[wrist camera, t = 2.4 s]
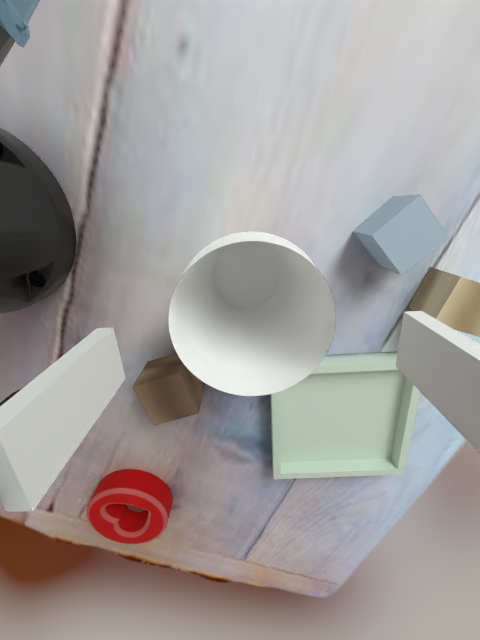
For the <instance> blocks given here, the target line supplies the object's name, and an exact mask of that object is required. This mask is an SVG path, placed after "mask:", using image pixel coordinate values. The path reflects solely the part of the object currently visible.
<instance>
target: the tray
mask: <svg viewBox="0 0 480 640" xmlns="http://www.w3.org/2000/svg"><path fill="white" fill-rule="evenodd" d="M397 354H398V352H383V353H364V354H344V355H325V357H324V358H323V360H322V361H321V363H320V364H319V365H318V366H317V367H316V369H315V370H314V371H313V372H312V373H310V374H309V375H308V376H307V377H306V378H304V379H303V380H302V381H300V382H299V383H297V384H295V385H293V386H291V387H290V388H287V389H285V390H282V391H279V392H276V393H272V394H270V410H271V444H272V468H273V477H274V479H295V478H321V477H347V476H373V475H399V474H404V470H405V465H406V460H407V455H408V450H409V445H410V440H411V435H412V430H413V426H414V421H415V416H416V411H417V406H418V401H419V396H420V391H419V390H418V389H417V388H416V387H415V386H414V385H413V384H412V383H411V381H410V380H409V379H408V378H407V377H406V376H405V375H404V374H403V373H402V372H401V371H400V370H399V369H398V368H397V367H396V360H397Z"/></svg>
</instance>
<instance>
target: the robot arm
mask: <svg viewBox="0 0 480 640" xmlns="http://www.w3.org/2000/svg"><path fill="white" fill-rule="evenodd" d="M39 1H40V0H0V66H1V64H2V62H3V61H4V59H5V58H6V56H7V54H8V53H9V51H10V49H11V48H12V46H13V44H14V43H15V41H16V43H17V44H18V45H19V46H21V47H24V46H25V44H26V43H27V41H28V40H29V38H30V32H29V28H28V25H27V24H28V22H29V20H30V18H31V16H32V14H33V12H34V10H35V8H36V6H37V5H38V3H39ZM75 248H76V234H75V226H74V221H73V216H72V213H71V209H70V206H69V204H68V201H67V199H66V197H65V194H64V192H63V190H62V188H61V187H60V185H59V183H58V182H57V180H56V178H55V177H54V175H53V174H52V172H51V171H50V170H49V169H48V167H47V166H46V165H45V164H44V162H43V161H42V160H41V159H40V158H39V157H38V156H37V155H36V154H35V153H34V152H33V151H32V150H31V149H30V148H29V147H28V146H26V145H25V144H24V143H23V142H21V141H20V140H19V139H17V138H16V137H14V136H13V135H11V134H10V133H8V132H6V131H5V130H3V129H1V128H0V313H5V312H10V311H15V310H18V309H22V308H24V307H27V306H29V305H31V304H33V303H35V302H38V301H40V300H42V299H44V298H46V297H48V296H49V295H50V294H52V293H53V292H54V291H56V290H57V289H58V288H59V287H60V285H61V284H62V283H63V282H64V280H65V279H66V277H67V275H68V274H69V271H70V269H71V267H72V264H73V260H74V256H75ZM396 367H397V368H398V369H399V370H400V371H401V372H402V373H403V374H404V375H405V376H406V377H407V378H408V379H409V380H410V381H411V383H412V384H413V385H414V386H415V387H416V388H417V389H418V390H419V391H420V392H421V393H422V394H423V395H424V396H425V397H426V398H427V399H428V400H429V401H430V402H431V403H432V404H433V405H434V406H435V407H436V408H437V410H438V411H439V412H440V413H441V414H442V415H443V416H444V417H445V418H446V419H447V420H448V421H449V422H450V423H451V424H452V425H453V426H454V427H455V428H456V429H457V430H458V431H459V432H460V433H461V434H462V435H463V437H464V438H465V439H466V440H467V441H468V442H469V443H470V444H471V445H472V446H473V447H474V448H475V449H476V450H477V451H478V452H479V453H480V344H478V343H477V342H475V341H473V340H471V339H470V338H468V337H466V336H464V335H463V334H461V333H459V332H458V331H456V330H454V329H452V328H451V327H449V326H447V325H445V324H444V323H442V322H440V321H438V320H437V319H435V318H433V317H431V316H430V315H428V314H426V313H424V312H423V311H409V312H404V315H403V321H402V328H401V334H400V341H399V347H398V354H397V360H396ZM125 379H126V378H125V374H124V370H123V366H122V362H121V357H120V353H119V349H118V345H117V341H116V337H115V333H114V329H113V327H111V328H97V329H95V330H94V331H93V332H92V333H90V334H89V335H88V336H87V337H85V338H84V339H83V340H82V341H81V342H79V343H78V344H77V345H76V346H74V347H73V348H72V349H71V350H69V351H68V352H67V353H66V354H64V355H63V356H62V357H61V358H59V359H58V360H57V361H56V362H55V363H53V364H52V365H51V366H50V367H48V368H47V369H46V370H45V371H43V372H42V373H41V374H40V375H38V376H37V377H36V378H35V379H34V380H32V381H31V382H30V383H29V384H27V385H26V386H25V387H23V388H22V389H20V390H18V391H16V392H14V393H12V394H11V395H10V396H8V397H7V398H6V399H5V400H3V401H2V402H1V403H0V500H1V502H2V504H3V506H4V508H5V510H6V512H18V511H34V509H35V508H36V506H37V505H38V503H39V502H40V501H41V499H42V498H43V496H44V495H45V493H46V492H47V491H48V489H49V488H50V486H51V485H52V483H53V482H54V481H55V479H56V478H57V476H58V475H59V473H60V472H61V470H62V469H63V468H64V466H65V465H66V463H67V462H68V460H69V459H70V458H71V456H72V455H73V453H74V452H75V450H76V449H77V448H78V446H79V445H80V443H81V442H82V440H83V439H84V438H85V436H86V435H87V433H88V432H89V430H90V429H91V428H92V426H93V425H94V423H95V422H96V420H97V419H98V418H99V416H100V415H101V413H102V412H103V410H104V409H105V408H106V406H107V405H108V403H109V402H110V400H111V399H112V398H113V396H114V395H115V393H116V392H117V390H118V389H119V388H120V386H121V385H122V383H123V382H124V380H125Z"/></svg>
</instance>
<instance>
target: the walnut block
mask: <svg viewBox="0 0 480 640" xmlns="http://www.w3.org/2000/svg"><path fill="white" fill-rule="evenodd" d="M133 389H134V391H135V392H136V394H137V396H138V398H139V399H140V401H141V403H142V405H143V407H144V408H145V410H146V412H147V414H148V416H149V417H150V419H151V421H152V423H153V424H154V425H157V424H161V423H164V422H168V421H172V420H175V419H179V418H183V417H186V416H190V415H194V414H198V413H199V408H200V404H201V399H202V394H203V390H204V383H203V381H201V380H200V379H198V378H197V377H196V376H195V375H194V374H192V373H191V372H190V371H189V370H188V368H187V367H186V366H185V365H184V364H183V362H182V361H181V359H180V358H179V356H178V354H177V353H175V354H172V355H169V356H166V357H162V358H159V359H156V360H152V361H149V362H147V364H146V366H145V367H144V369H143V371H142V372H141V374H140V376H139V377H138V379H137V381H136V382H135V384H134V385H133Z"/></svg>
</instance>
